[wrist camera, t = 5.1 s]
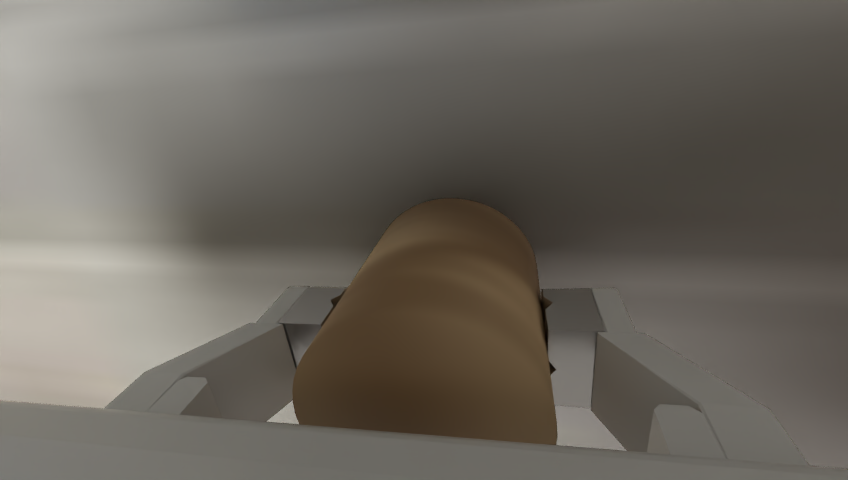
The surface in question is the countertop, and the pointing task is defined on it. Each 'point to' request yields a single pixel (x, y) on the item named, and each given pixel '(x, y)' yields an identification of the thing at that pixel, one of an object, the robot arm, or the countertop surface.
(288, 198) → the countertop surface
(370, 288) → the brown cylinder
